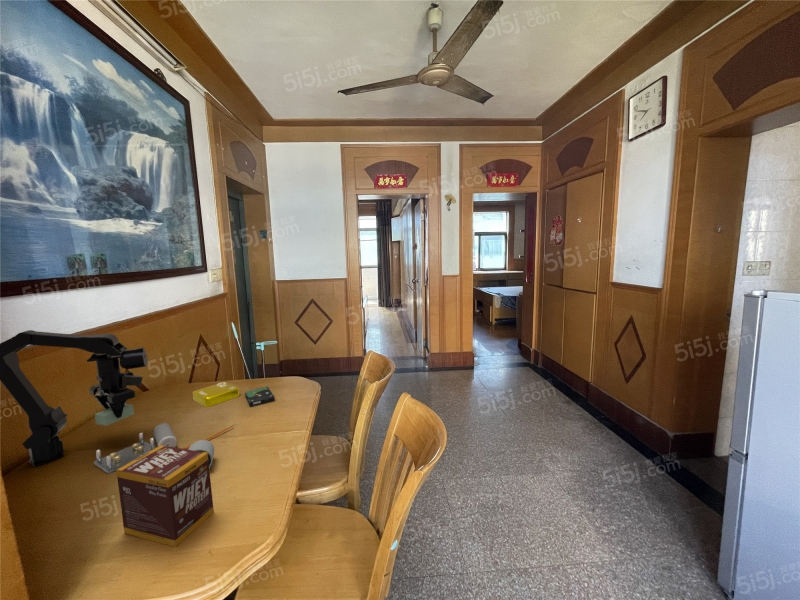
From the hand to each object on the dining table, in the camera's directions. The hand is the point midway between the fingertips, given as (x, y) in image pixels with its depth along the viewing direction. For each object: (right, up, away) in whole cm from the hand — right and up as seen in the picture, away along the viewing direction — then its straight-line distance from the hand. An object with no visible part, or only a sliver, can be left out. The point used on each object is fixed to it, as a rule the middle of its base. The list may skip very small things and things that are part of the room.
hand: (115, 415), depth 111 cm
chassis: (+10, -11, -7) cm, 17 cm away
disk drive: (+34, -6, +36) cm, 50 cm away
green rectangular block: (0, -1, 0) cm, 1 cm away
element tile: (+13, -6, +38) cm, 41 cm away
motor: (+23, -9, +7) cm, 26 cm away
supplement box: (+43, -13, -34) cm, 57 cm away
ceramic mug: (+36, -11, -15) cm, 41 cm away
